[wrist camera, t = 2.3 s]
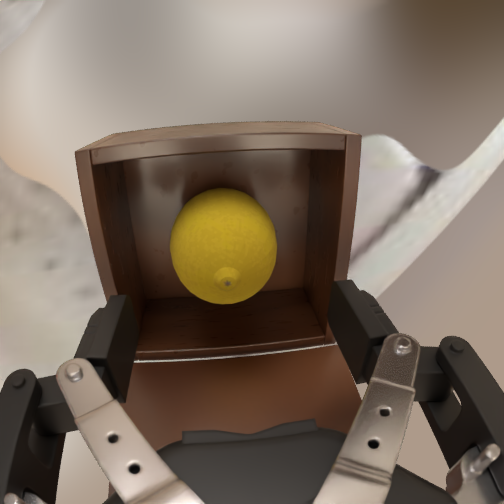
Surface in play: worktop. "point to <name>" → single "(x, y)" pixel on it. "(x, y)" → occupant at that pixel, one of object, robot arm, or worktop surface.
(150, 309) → the chest
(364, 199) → the worktop surface
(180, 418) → the lid
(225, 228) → the lemon
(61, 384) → the robot arm
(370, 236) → the worktop surface
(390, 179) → the worktop surface
